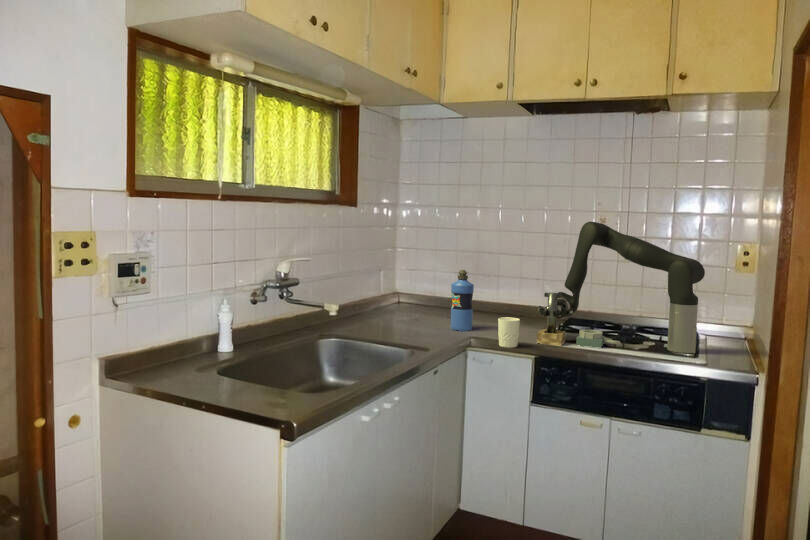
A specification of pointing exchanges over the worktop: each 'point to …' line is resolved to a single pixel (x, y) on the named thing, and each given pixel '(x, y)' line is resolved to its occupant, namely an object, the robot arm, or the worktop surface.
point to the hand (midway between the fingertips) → (550, 314)
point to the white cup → (508, 331)
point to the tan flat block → (551, 337)
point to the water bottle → (462, 303)
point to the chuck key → (552, 311)
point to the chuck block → (592, 338)
